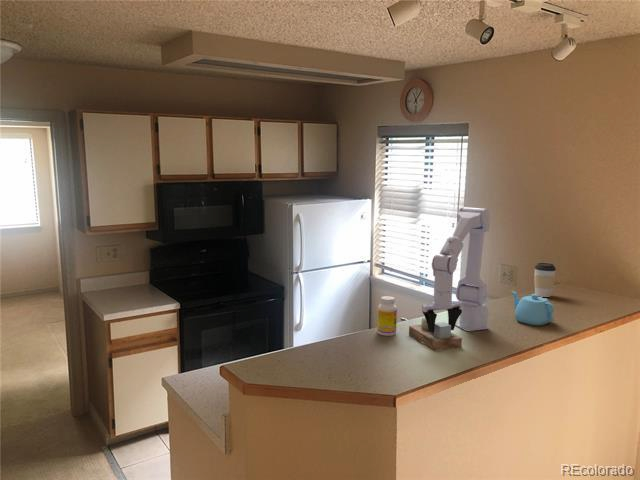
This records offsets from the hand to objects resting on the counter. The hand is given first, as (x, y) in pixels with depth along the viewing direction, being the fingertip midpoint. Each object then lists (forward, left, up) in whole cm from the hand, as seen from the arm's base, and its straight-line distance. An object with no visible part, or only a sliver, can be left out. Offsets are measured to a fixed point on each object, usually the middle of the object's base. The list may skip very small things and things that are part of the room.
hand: (441, 330), depth 168 cm
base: (0, -4, -5) cm, 6 cm away
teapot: (-47, -10, -5) cm, 48 cm away
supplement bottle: (+12, -15, -5) cm, 20 cm away
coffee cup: (-80, -38, -5) cm, 89 cm away
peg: (0, +1, -5) cm, 5 cm away
